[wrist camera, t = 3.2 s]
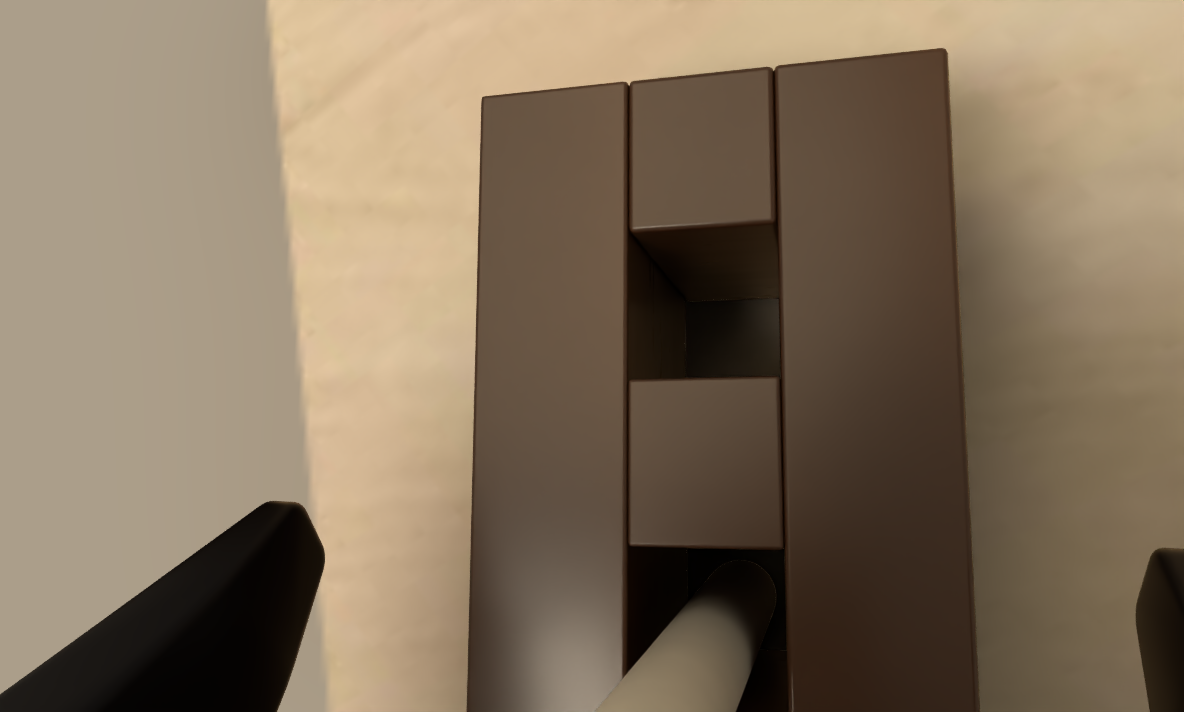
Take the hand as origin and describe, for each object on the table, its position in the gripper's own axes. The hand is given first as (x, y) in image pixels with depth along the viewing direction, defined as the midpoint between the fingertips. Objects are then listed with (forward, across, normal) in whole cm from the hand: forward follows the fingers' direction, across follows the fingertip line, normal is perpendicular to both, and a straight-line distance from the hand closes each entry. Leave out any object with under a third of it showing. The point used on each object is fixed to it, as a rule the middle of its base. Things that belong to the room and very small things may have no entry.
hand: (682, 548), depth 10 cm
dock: (+4, 0, +6) cm, 7 cm away
